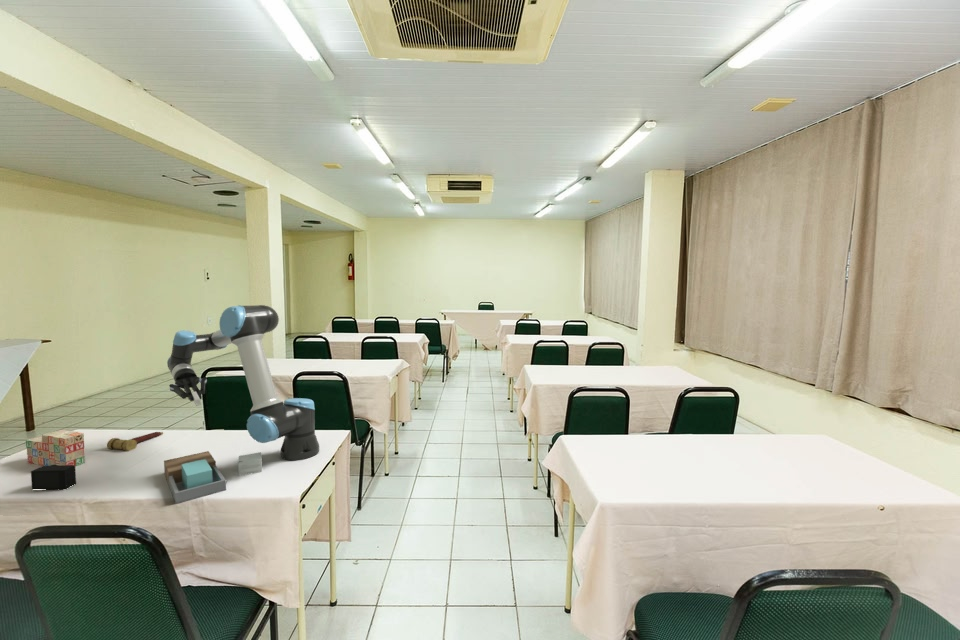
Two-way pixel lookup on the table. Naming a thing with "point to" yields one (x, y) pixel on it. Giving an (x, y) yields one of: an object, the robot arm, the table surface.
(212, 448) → the table surface
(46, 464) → the stack of blocks
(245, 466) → the small box
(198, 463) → the teal block
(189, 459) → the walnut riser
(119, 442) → the gavel
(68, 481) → the digital camera
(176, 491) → the bin
